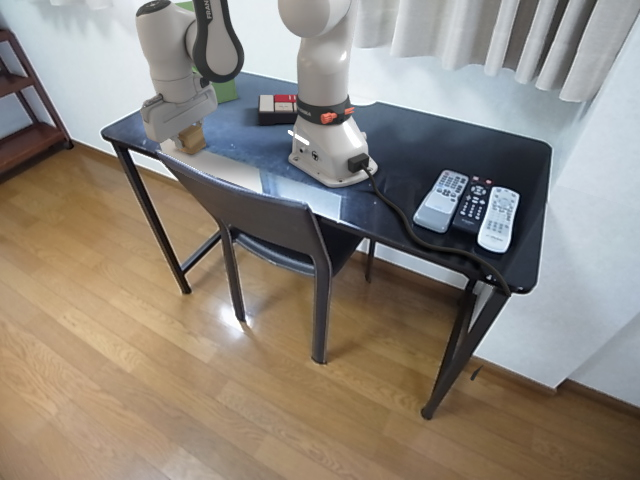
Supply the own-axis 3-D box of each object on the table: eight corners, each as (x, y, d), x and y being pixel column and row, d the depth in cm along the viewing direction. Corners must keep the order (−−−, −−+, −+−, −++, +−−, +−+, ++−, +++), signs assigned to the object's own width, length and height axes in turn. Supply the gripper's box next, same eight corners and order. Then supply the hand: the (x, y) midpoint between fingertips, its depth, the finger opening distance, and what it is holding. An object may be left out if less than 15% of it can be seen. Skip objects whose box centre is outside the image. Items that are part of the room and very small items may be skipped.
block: (206, 145, 95) (201, 127, 91) (192, 155, 92) (187, 136, 88) (191, 140, 96) (186, 122, 93) (177, 149, 93) (172, 131, 90)
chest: (237, 98, 114) (232, 69, 108) (205, 106, 110) (199, 76, 104) (221, 83, 122) (215, 55, 116) (191, 90, 118) (183, 61, 112)
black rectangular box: (313, 110, 100) (257, 110, 99) (313, 125, 103) (258, 125, 102) (310, 93, 108) (258, 92, 107) (310, 107, 111) (259, 107, 110)
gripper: (148, 107, 76) (168, 165, 85) (216, 73, 88) (226, 127, 98) (127, 101, 78) (148, 158, 88) (196, 68, 90) (208, 121, 100)
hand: (190, 141), depth 93 cm, fingers closed on block, 5 cm apart
